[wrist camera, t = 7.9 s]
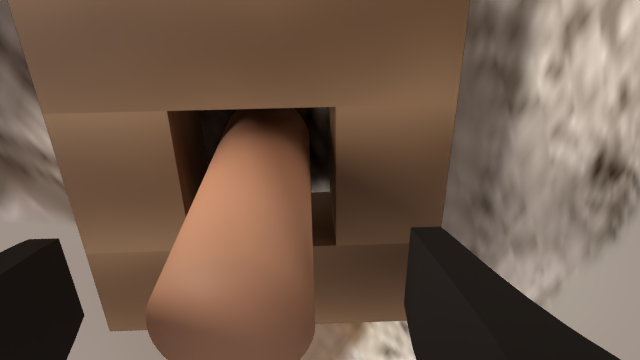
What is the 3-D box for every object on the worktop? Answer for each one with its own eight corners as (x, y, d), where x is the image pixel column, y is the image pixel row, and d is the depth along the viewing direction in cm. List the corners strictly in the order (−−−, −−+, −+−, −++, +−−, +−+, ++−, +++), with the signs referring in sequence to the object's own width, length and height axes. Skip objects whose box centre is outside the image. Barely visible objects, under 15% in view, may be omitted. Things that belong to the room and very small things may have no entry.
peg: (308, 177, 17) (313, 382, 9) (228, 176, 17) (158, 383, 9) (309, 99, 15) (316, 257, 7) (222, 98, 15) (133, 257, 7)
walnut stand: (408, 258, 19) (429, 319, 15) (142, 267, 18) (109, 331, 15) (434, -34, 14) (474, -30, 10) (71, -27, 13) (0, -22, 10)
